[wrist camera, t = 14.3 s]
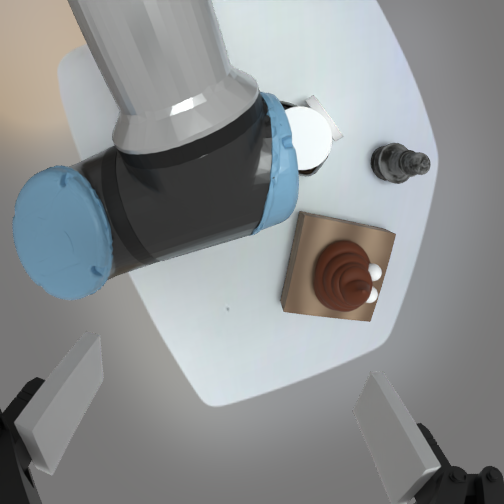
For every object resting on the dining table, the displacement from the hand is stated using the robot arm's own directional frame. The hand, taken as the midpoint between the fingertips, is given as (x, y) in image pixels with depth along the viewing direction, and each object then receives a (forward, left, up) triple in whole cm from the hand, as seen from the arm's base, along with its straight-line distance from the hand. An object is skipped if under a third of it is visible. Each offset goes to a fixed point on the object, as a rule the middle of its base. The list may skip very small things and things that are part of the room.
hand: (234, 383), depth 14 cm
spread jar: (+4, +16, -32) cm, 36 cm away
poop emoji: (+15, -2, -29) cm, 33 cm away
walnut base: (+15, -2, -33) cm, 36 cm away
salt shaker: (+20, +15, -33) cm, 41 cm away
